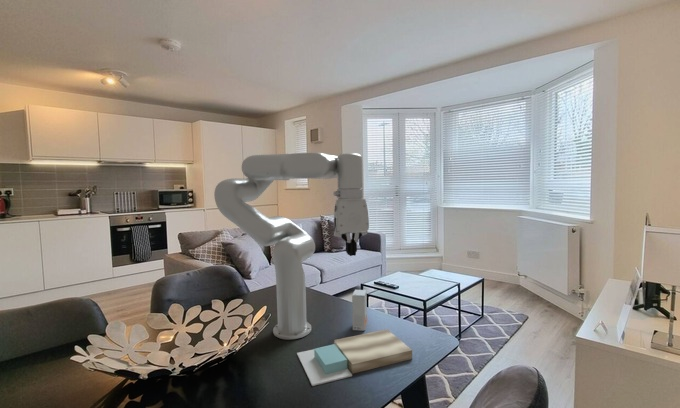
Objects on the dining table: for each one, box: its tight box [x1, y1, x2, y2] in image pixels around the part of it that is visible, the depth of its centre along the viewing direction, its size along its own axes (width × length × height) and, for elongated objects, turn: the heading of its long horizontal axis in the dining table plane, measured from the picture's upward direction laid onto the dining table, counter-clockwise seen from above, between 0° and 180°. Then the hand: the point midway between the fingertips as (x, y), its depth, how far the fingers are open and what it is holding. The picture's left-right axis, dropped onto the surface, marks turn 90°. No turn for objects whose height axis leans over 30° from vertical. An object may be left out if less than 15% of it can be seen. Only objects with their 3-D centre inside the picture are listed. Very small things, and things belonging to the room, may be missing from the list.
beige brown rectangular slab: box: [333, 329, 413, 375], centre depth 93 cm, size 14×18×2 cm
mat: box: [296, 348, 353, 387], centre depth 88 cm, size 16×10×1 cm, turn 21°
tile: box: [313, 343, 348, 374], centre depth 88 cm, size 9×6×2 cm, turn 23°
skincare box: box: [351, 289, 368, 332], centre depth 110 cm, size 6×4×12 cm
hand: (351, 254), depth 99 cm, fingers closed
